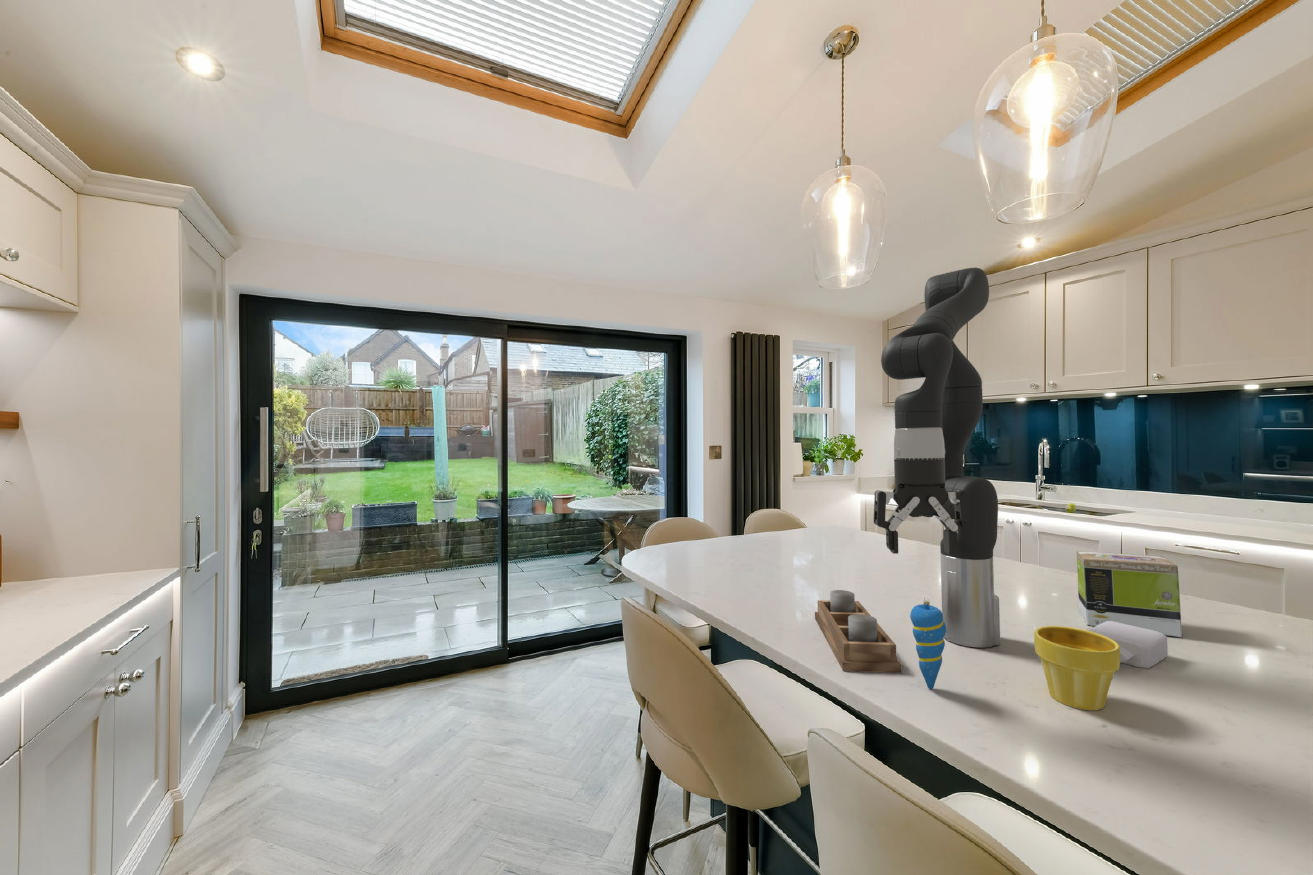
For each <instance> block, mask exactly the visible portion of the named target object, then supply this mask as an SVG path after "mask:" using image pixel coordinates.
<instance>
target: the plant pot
mask: <svg viewBox="0 0 1313 875" xmlns="http://www.w3.org/2000/svg"><path fill="white" fill-rule="evenodd" d="M1087 630H1088V629H1083V628H1082V629H1081V628H1078V627H1071V626H1064V625H1063V626H1062V625H1044V626H1040V627H1037V628H1036V629H1035V630H1034V632H1033V633H1034V634H1033V636H1034V638H1033V639H1034V641H1033V642H1034V652H1035V653H1036V655H1037V656H1038V657H1039V658H1040V661H1041V664H1042V669H1043V673H1044V677H1045V680H1046V684H1047V689H1048V694H1049V695H1050V697H1052V698H1053V699H1054V700H1055V701H1056V702H1059V703H1061V704H1063V705H1065V706H1068V707H1071V708H1074V709H1078V710H1083V711H1099V710H1102V709H1104V707H1105V705H1106V701H1107V696H1108V694H1109V690H1110V687H1111V683H1112V680H1113V677H1114V673H1115V672H1118V671H1119V669H1120V668H1121V662H1120V646H1119V645H1118V643H1117V642H1115V641H1114V640H1112V639H1110V638H1108V637H1106V636H1103V635H1101V634H1098V633H1094V632H1091V631H1087Z"/></svg>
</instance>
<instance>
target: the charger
mask: <svg viewBox="0 0 1313 875" xmlns="http://www.w3.org/2000/svg"><path fill="white" fill-rule="evenodd" d="M1086 630H1087V631H1091V632H1094V633H1098V634H1101V635H1103V636H1106V637H1108V638H1110V639H1112V640H1114V641H1115V642H1117V643H1118V645H1119V646H1120V664H1121V663H1122V664H1125V665H1128V666H1132V667H1136V668H1139V669H1145V670H1147V669H1150V668H1152V667H1153V666H1155V665H1156V664H1157V663H1159V662H1161V661H1162V660H1164V659H1165V658H1167V657H1168V652H1169V651H1168V637H1167V635H1164V634H1162V633H1160V632H1157V631H1153V630H1149V629H1145V628H1140V627H1136V626H1131V625H1127V624H1123V623H1118V622H1114V621H1106V622H1103V623H1101V624H1099V625H1097V626H1092V627H1091V628H1089V629H1086Z"/></svg>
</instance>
